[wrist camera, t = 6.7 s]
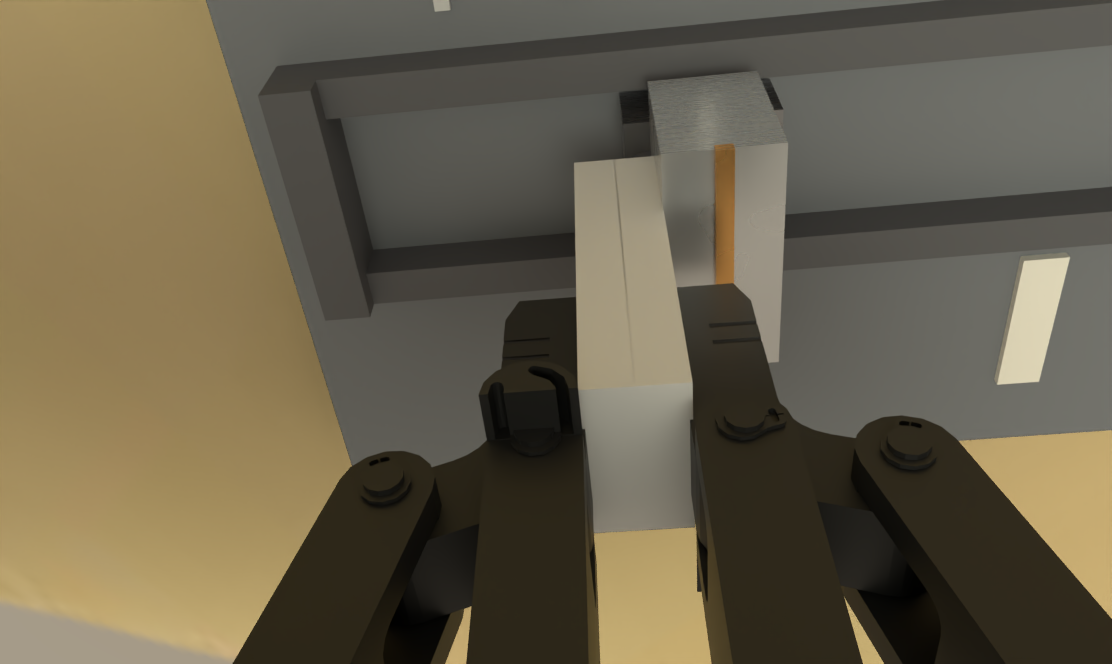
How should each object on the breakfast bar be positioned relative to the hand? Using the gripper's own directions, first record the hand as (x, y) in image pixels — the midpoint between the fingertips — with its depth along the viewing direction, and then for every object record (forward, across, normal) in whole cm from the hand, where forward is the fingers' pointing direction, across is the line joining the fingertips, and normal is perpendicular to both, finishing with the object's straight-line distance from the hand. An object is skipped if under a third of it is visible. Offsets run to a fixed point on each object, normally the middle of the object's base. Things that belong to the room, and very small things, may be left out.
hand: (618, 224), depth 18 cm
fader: (+3, +2, 0) cm, 3 cm away
